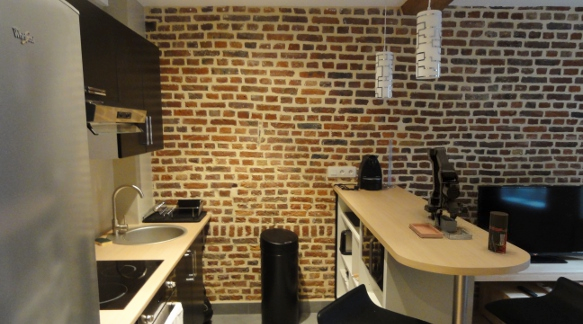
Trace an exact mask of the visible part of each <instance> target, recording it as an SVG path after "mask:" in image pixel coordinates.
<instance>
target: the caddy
mask: <svg viewBox="0 0 583 324" xmlns="http://www.w3.org/2000/svg"><path fill="white" fill-rule="evenodd" d="M434 225H435V226H436V227H438V228H439V229H441V230H442V229H444V230H445V231H447V232H448V233H451V232H452V233H457V231H458V221H457V220H456V219H455V220H454V219H452V218H450V215H447V214H443V215H441V216H440V226H438V223H437V221H436V218H435V220H434Z"/></svg>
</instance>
